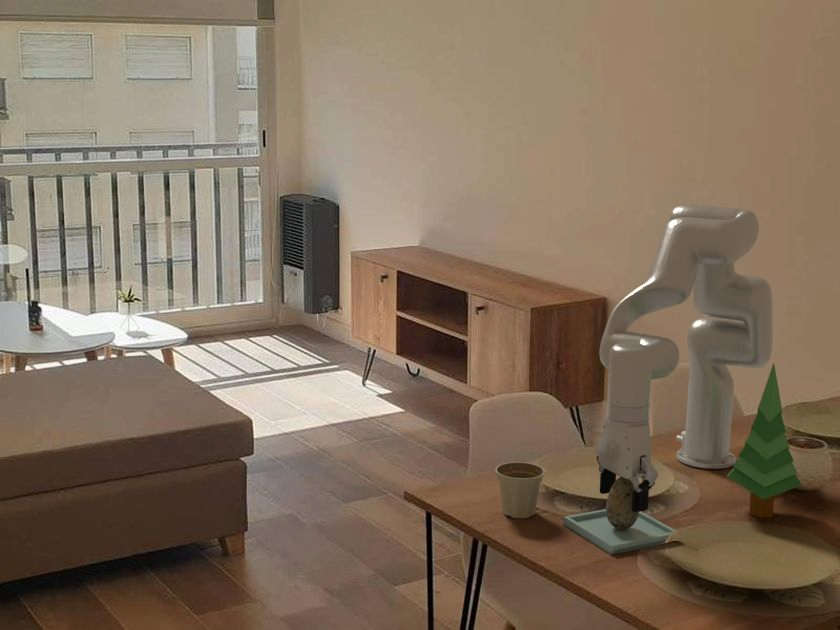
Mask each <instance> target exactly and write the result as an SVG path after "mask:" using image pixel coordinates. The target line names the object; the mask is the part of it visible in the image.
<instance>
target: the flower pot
mask: <svg viewBox="0 0 840 630" xmlns="http://www.w3.org/2000/svg"><path fill="white" fill-rule="evenodd" d="M494 471H495V473H496V474H497V480H498V482H499V491H500V498H501V507H502V508H501V509H502V513H503V514H504V516H506V517H507V516H510V517H511V518H513V519H529V518H530V517H531V516H534V515H536V512H537V503H538V499H539V492H540V487H541V483H542V481H543V477H544V476H545V474H546V469H545V468H544V467H542V466H540V465H538V464H535V463H531V462H525V461H524V462H522V461H511V462H509V461H508V462H505V463H501V464H498V465H497V466H496V467H495V469H494Z"/></svg>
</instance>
